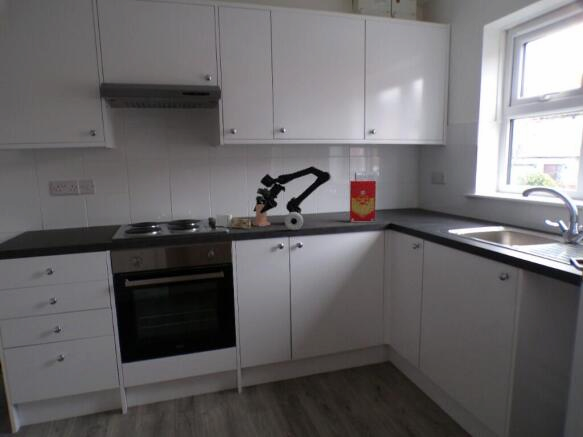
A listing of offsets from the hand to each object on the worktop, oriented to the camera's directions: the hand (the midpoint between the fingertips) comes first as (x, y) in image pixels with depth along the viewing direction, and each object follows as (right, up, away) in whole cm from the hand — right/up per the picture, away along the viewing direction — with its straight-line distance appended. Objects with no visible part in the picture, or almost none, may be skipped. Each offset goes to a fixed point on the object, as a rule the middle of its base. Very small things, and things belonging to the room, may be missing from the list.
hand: (257, 212), depth 216 cm
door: (-8, -9, -9) cm, 15 cm away
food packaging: (+63, -6, +11) cm, 65 cm away
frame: (-18, -9, -4) cm, 21 cm away
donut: (+21, -10, -17) cm, 29 cm away
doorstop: (+2, -7, +3) cm, 8 cm away
